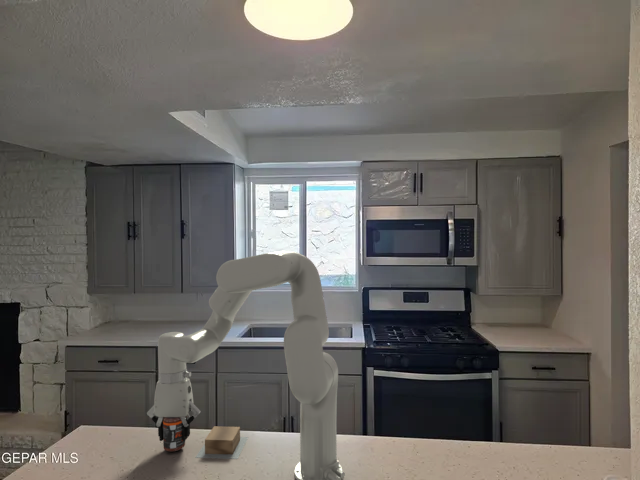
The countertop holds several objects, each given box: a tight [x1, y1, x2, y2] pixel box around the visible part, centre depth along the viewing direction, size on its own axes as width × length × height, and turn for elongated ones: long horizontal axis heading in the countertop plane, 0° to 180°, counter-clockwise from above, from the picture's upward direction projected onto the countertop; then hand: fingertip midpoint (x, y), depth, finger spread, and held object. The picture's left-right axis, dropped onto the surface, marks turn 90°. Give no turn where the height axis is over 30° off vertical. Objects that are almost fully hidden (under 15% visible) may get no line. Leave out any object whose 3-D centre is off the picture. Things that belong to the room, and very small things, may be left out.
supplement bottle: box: [162, 417, 186, 453], centre depth 114 cm, size 6×6×11 cm
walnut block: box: [204, 425, 241, 455], centre depth 115 cm, size 8×8×4 cm
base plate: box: [195, 436, 249, 460], centre depth 115 cm, size 12×12×1 cm
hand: (174, 438), depth 114 cm, fingers closed on supplement bottle, 6 cm apart
